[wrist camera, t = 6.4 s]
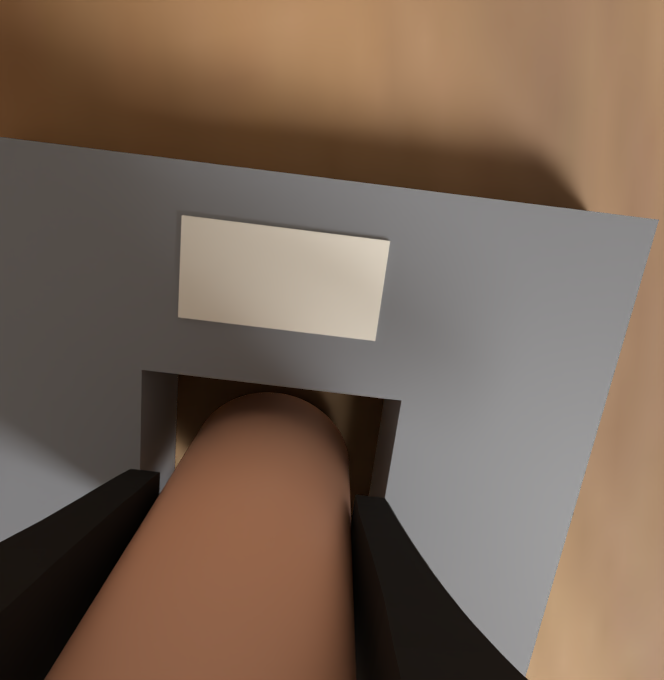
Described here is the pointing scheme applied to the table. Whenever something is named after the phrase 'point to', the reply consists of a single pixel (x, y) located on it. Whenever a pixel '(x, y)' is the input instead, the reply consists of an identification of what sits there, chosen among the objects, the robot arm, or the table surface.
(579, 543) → the table surface
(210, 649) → the peg
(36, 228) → the hole board
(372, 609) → the robot arm
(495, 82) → the table surface
